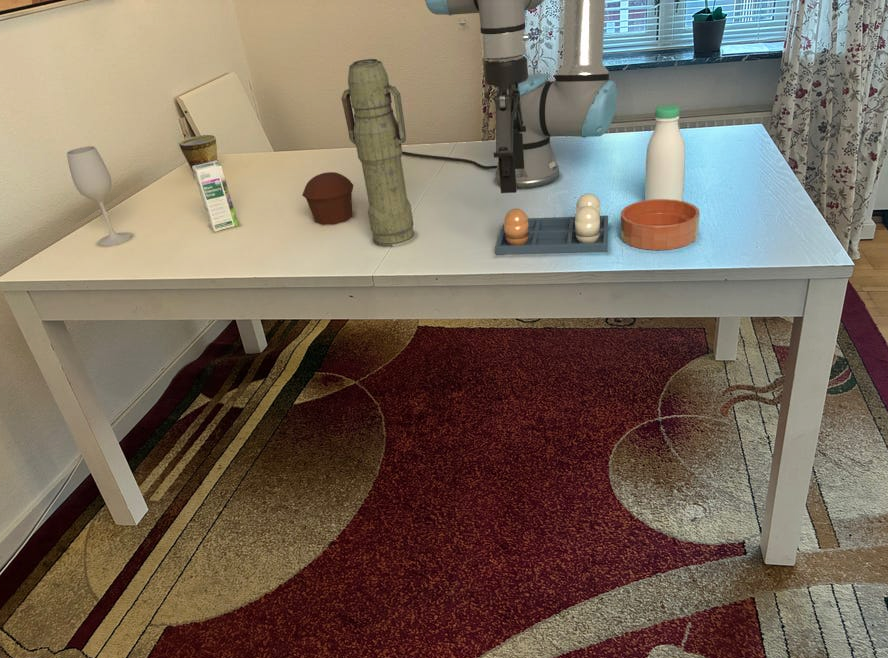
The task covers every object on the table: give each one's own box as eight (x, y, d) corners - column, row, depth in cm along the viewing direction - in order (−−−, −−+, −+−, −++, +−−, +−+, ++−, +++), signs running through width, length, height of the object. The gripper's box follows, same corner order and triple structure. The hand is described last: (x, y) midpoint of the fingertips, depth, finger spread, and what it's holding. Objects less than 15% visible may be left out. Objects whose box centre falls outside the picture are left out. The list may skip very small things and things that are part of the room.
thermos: (374, 230, 159) (343, 59, 141) (426, 229, 156) (402, 54, 138) (360, 246, 152) (326, 68, 134) (414, 246, 149) (387, 64, 131)
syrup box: (214, 232, 168) (195, 170, 161) (209, 225, 173) (191, 164, 165) (239, 226, 170) (221, 164, 163) (233, 219, 175) (216, 158, 167)
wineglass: (110, 248, 167) (75, 156, 156) (91, 243, 171) (55, 154, 160) (138, 235, 172) (106, 146, 161) (118, 231, 176) (86, 144, 165)
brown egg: (501, 245, 144) (498, 209, 140) (522, 239, 145) (519, 203, 141) (513, 253, 140) (510, 216, 136) (534, 247, 141) (531, 210, 138)
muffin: (340, 205, 175) (332, 163, 170) (368, 213, 168) (361, 171, 163) (298, 221, 169) (289, 179, 163) (326, 231, 162) (317, 187, 156)
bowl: (606, 235, 144) (606, 210, 141) (665, 217, 148) (666, 193, 145) (651, 259, 132) (652, 233, 130) (713, 239, 137) (715, 213, 134)
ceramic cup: (232, 170, 210) (222, 135, 205) (205, 182, 204) (194, 146, 198) (202, 167, 217) (192, 133, 212) (175, 178, 210) (164, 143, 205)
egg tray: (505, 228, 152) (504, 219, 151) (608, 224, 148) (608, 215, 147) (496, 256, 140) (495, 247, 139) (607, 253, 136) (607, 243, 135)
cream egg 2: (570, 243, 141) (569, 206, 137) (591, 237, 142) (590, 200, 139) (584, 251, 137) (583, 213, 133) (604, 245, 139) (604, 207, 135)
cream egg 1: (572, 230, 147) (571, 193, 143) (592, 224, 148) (591, 188, 144) (585, 237, 143) (584, 200, 139) (605, 231, 144) (605, 194, 140)
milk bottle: (683, 211, 150) (689, 111, 139) (644, 212, 152) (647, 113, 141) (681, 198, 156) (687, 101, 146) (644, 199, 158) (647, 103, 147)
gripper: (519, 70, 113) (526, 202, 124) (533, 43, 134) (539, 158, 145) (471, 74, 115) (483, 204, 126) (493, 46, 136) (501, 160, 147)
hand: (513, 180), depth 135 cm, fingers open, 13 cm apart
